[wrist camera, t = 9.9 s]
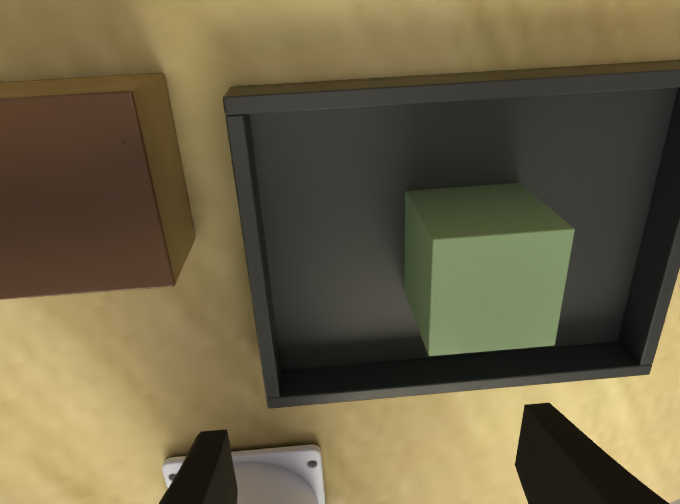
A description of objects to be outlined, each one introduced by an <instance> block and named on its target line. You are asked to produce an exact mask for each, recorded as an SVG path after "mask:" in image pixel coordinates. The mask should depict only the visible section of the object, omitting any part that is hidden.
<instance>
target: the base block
mask: <svg viewBox="0 0 680 504" xmlns="http://www.w3.org/2000/svg"><path fill="white" fill-rule="evenodd" d="M194 240H195V231H194V226H193V221H192V216H191V210H190V205H189V200H188V195H187V189H186V184H185V179H184V174H183V168H182V163H181V158H180V153H179V147H178V142H177V137H176V132H175V126H174V121H173V116H172V110H171V105H170V100H169V95H168V89H167V84H166V79H165V75H164V74H163V73H155V74H138V75H120V76H103V77H86V78H68V79H51V80H34V81H16V82H0V300H4V299H17V298H30V297H43V296H56V295H69V294H82V293H95V292H108V291H121V290H134V289H147V288H160V287H173V286H175V284H176V282H177V279H178V277H179V275H180V272H181V270H182V268H183V265H184V263H185V261H186V258H187V256H188V254H189V251H190V249H191V247H192V244H193V242H194Z"/></svg>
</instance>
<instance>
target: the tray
mask: <svg viewBox="0 0 680 504" xmlns="http://www.w3.org/2000/svg"><path fill="white" fill-rule="evenodd" d="M223 103H224V110H225V114H226V124H227V131H228V137H229V144H230V151H231V158H232V165H233V172H234V179H235V186H236V193H237V200H238V207H239V213H240V220H241V227H242V234H243V241H244V248H245V255H246V262H247V269H248V276H249V283H250V290H251V296H252V303H253V310H254V317H255V324H256V331H257V338H258V345H259V352H260V359H261V366H262V373H263V379H264V386H265V393H266V400H267V407H268V408H280V407H291V406H302V405H314V404H325V403H336V402H347V401H358V400H370V399H381V398H392V397H403V396H414V395H426V394H437V393H448V392H459V391H470V390H482V389H493V388H504V387H515V386H526V385H538V384H549V383H560V382H571V381H582V380H594V379H605V378H616V377H627V376H638V375H649V374H650V371H651V367H652V363H653V360H654V357H655V353H656V349H657V346H658V342H659V339H660V335H661V332H662V328H663V325H664V321H665V318H666V314H667V311H668V307H669V304H670V300H671V297H672V293H673V290H674V286H675V282H676V279H677V275H678V272H679V268H680V60H672V61H656V62H639V63H622V64H605V65H588V66H572V67H555V68H538V69H521V70H505V71H488V72H471V73H454V74H437V75H421V76H404V77H387V78H370V79H353V80H337V81H320V82H303V83H286V84H270V85H253V86H236V87H230V89H229V90H228V92H227V93H226V94H225V96H224V97H223ZM509 183H520V184H521V185H522V186H523V187H525V188H526V189H527V190H528V191H530V192H531V193H532V194H533V195H534V196H536V197H537V198H538V199H539V200H540V201H542V202H543V203H544V204H545V205H547V206H548V207H549V208H550V209H551V210H553V211H554V212H555V213H556V214H558V215H559V216H560V217H561V218H562V219H564V220H565V221H566V222H567V223H569V224H570V225H571V226H572V227H573V228H574V229H575V231H574V237H573V243H572V248H571V254H570V260H569V266H568V271H567V277H566V283H565V289H564V295H563V300H562V306H561V312H560V318H559V324H558V329H557V335H556V341H555V345H554V346H542V347H530V348H519V349H507V350H496V351H484V352H472V353H461V354H449V355H438V356H428V353H427V351H426V348H425V345H424V342H423V340H422V337H421V334H420V332H419V329H418V326H417V324H416V321H415V318H414V315H413V313H412V310H411V307H410V305H409V302H408V299H407V297H406V294H405V291H404V262H405V191H410V190H424V189H438V188H453V187H467V186H481V185H495V184H509Z"/></svg>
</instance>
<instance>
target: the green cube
mask: <svg viewBox="0 0 680 504" xmlns="http://www.w3.org/2000/svg"><path fill="white" fill-rule="evenodd" d="M574 231H575V229H574V228H573V227H572V226H571V225H570V224H569V223H567V222H566V221H565V220H564V219H562V218H561V217H560V216H559V215H558V214H556V213H555V212H554V211H553V210H551V209H550V208H549V207H548V206H547V205H545V204H544V203H543V202H542V201H540V200H539V199H538V198H537V197H536V196H534V195H533V194H532V193H531V192H530V191H528V190H527V189H526V188H525V187H523V186H522V185H521V184H520V183H509V184H495V185H481V186H467V187H453V188H438V189H424V190H410V191H405V262H404V291H405V294H406V297H407V299H408V302H409V305H410V307H411V310H412V313H413V315H414V318H415V321H416V324H417V326H418V329H419V332H420V334H421V337H422V340H423V342H424V345H425V348H426V351H427V353H428V356H438V355H449V354H461V353H472V352H484V351H496V350H507V349H519V348H530V347H542V346H554V345H555V341H556V335H557V329H558V324H559V318H560V312H561V306H562V300H563V295H564V289H565V283H566V277H567V271H568V266H569V260H570V254H571V248H572V243H573V237H574Z"/></svg>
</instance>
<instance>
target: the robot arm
mask: <svg viewBox="0 0 680 504" xmlns="http://www.w3.org/2000/svg"><path fill="white" fill-rule="evenodd" d="M311 460H314V461H311ZM515 466H516V469H517V472H518V475H519V478H520V481H521V484H522V487H523V490H524V493H525V496H526V498H527V501H528V504H669V503H668V502H666V501H665V500H664V499H662V498H661V497H660V496H659V495H657V494H656V493H655V492H653V491H652V490H651V489H649V488H648V487H647V486H646V485H644V484H643V483H642V482H641V481H639V480H638V479H637V478H636V477H634V476H633V475H632V474H631V473H629V472H628V471H627V470H626V469H625V468H623V467H622V466H621V465H620V464H619V463H617V462H616V461H615V460H614V459H613V458H611V457H610V456H609V455H608V454H607V453H606V452H604V451H603V450H602V449H601V448H600V447H599V446H597V445H596V444H595V443H594V442H593V441H592V440H591V439H590V438H588V437H587V436H586V435H585V434H584V433H583V432H582V431H580V430H579V429H578V428H577V427H576V426H575V425H574V424H573V423H572V422H570V421H569V420H568V419H567V418H566V417H565V416H564V415H563V414H561V413H560V412H559V411H558V410H557V409H556V408H555V407H553V406H552V405H551V404H550V403H541V404H529V405H525V406H524V412H523V418H522V424H521V431H520V437H519V443H518V449H517V455H516V461H515ZM162 472H163V475H164V479H165V482H166V486H167V491H166V493H165V494H164V496H163V497H162V499H161V501H160V502H159V504H326V502H325V491H324V479H323V468H322V457H321V449H320V448H319V447H318V446H316V445H311V444H310V445H299V446H289V447H278V448H267V449H256V450H246V451H235V452H231V449H230V443H229V438H228V432H227V430H216V431H204V432H200V433H199V434H198V435H197V437H196V439H195V441H194V443H193V445H192V447H191V449H190V451H189V452H188V454H187V456H181V457H171V458H168V459H166V460H165V461H164V463H163V466H162ZM173 473H174V474H173Z"/></svg>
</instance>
